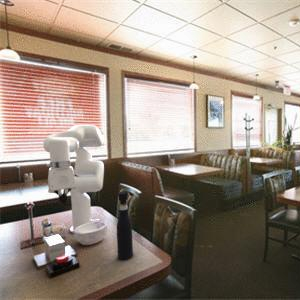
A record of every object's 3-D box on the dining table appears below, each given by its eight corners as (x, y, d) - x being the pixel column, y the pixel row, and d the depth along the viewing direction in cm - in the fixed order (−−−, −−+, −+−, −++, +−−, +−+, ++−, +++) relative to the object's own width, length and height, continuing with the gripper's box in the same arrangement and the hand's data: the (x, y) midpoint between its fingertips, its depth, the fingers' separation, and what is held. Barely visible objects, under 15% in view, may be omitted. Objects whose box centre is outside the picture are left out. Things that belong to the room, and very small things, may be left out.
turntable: (69, 248, 116) (69, 245, 116) (76, 256, 108) (76, 253, 107) (33, 259, 105) (33, 256, 105) (38, 269, 97) (38, 266, 97)
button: (66, 257, 100) (66, 253, 100) (69, 260, 98) (69, 256, 97) (55, 260, 97) (55, 256, 97) (57, 264, 95) (57, 260, 95)
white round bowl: (67, 245, 119) (66, 230, 118) (93, 233, 133) (92, 219, 132) (89, 250, 113) (88, 234, 113) (114, 237, 128) (113, 223, 127)
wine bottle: (136, 254, 109) (133, 191, 107) (126, 261, 103) (123, 194, 101) (125, 252, 111) (122, 190, 109) (114, 259, 105) (111, 193, 103)
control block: (73, 260, 104) (73, 252, 104) (79, 267, 99) (78, 258, 98) (46, 270, 97) (45, 261, 96) (50, 278, 91) (49, 268, 91)
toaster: (65, 256, 105) (64, 241, 104) (50, 261, 101) (49, 245, 100) (59, 248, 112) (58, 234, 112) (45, 252, 108) (44, 237, 108)
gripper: (42, 167, 101) (45, 208, 103) (81, 163, 112) (83, 200, 114) (38, 165, 106) (41, 205, 108) (76, 162, 117) (78, 197, 119)
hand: (63, 202), depth 111 cm, fingers closed
